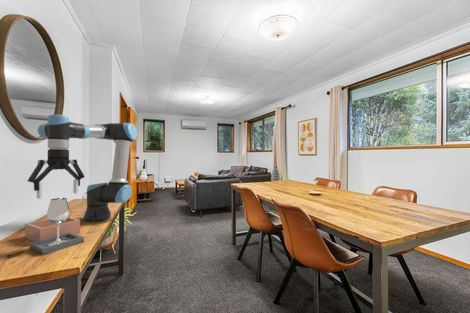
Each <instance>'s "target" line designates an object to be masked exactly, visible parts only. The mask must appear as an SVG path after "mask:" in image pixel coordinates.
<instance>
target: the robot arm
mask: <svg viewBox="0 0 470 313" xmlns="http://www.w3.org/2000/svg"><path fill="white" fill-rule="evenodd" d="M37 133H38V135H39V137H41V138H43V139H47V160H46V159H38V161H37V165H36V167H35V168H34V170H33V171H32V173H31V174H30V176H29V177H28V179H27V182H29V183H32V184H33V190H34V191H35V192H36V199H42V198H43V185H42V184H43V183H42V182H41V181H42V180H44V179H45V177H46V176H48V175H49V174H50V172H52V171H53V170H54V171H55V170H65V171H66V172H68V174H69V175H71V176H72V177H73V178H74V179H73V188H72V189H73V190H72V191H73V194H75V195H76V194H79V187H81V180H82V179H84V178H85V174H84V172H83V170H82V169H81V167H80V165H79V164H78V160H77V159H70V150H69V149H70V139H79V140H80V139H81V140H82V139H83V140H85V139H88V138H89V139H90V138H95V139H97V140H109V141H113V143H114V145H115V146H114V147H115V149H114V156H113V165H112V174H111V180H109V181H108V182H100V183H95V184H89V185H88V186H87V188H86V210H85V212H84V215H83V219H82V220H83V222H87V223H88V222H89V223H90V222H98V221H99V222H102V221H105V220H107V219H110V218H111V217H112V215H111V214H112V213H111V210H110V207H109V204H122V203H126V202H127V201H129V199H130V198H131V196H132V192H133V190H132V186H131V185H130V184H129V183H130V182H129V181H128V179H127V178H128V167H129V158H130V157H129V156H130V149H131V148H130V147H131V145H132V144H133V143H134V142H133V141H135V140H136V139H137V137H138V131H137V128H136V127H135V125H134V124H133V123H131V122H130V123H129V122H122V123H121V122H115V123H113V122H112V123H101V124H99V123H98V124H94V125H89V124H87V125H86V124H83V123H79V122H72V121H70V118H69V116H67V115H63V114H50V115H48V116H47V122H46V123H42V124H40V125H39V126H38V127H37ZM46 164H47V165H48V166H46V168H45V169H44V170H43V171H42V169H43V167H44V166H45V165H46ZM69 164H71V166H72V168H74V169H72V168H71V166H69ZM41 171H42V172H41ZM40 172H41V173H40ZM39 173H40V174H39Z"/></svg>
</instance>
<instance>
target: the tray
mask: <svg viewBox="0 0 470 313" xmlns="http://www.w3.org/2000/svg"><path fill="white" fill-rule="evenodd" d="M56 239H57V236H54V237H50V238H47V239H43V240H39V241H35V242H33V241H31V242H29V250H30V251H33V252H35V253H37V254H39V255H41V254H42V256H45V255H48V254H50V252H51V253H53V251H54V252H57V250H58V251H61V250H64V249H67V248H69V247H73V246H77V245H79V244H80V245H81V244H82V243H85V237H84V236H82V235H79V234H73V233H70V232H69V233H65V234H62V235H59V239H68V240H69V241H65V242H62V243H58V244H55V245H52V246H47V243H49V242H51V241H55V240H56ZM60 249H61V250H60ZM47 253H48V254H47ZM44 254H45V255H44Z"/></svg>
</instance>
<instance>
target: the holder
mask: <svg viewBox="0 0 470 313" xmlns="http://www.w3.org/2000/svg"><path fill="white" fill-rule="evenodd" d="M24 225H25V228H24V229H25V232H24V235H25V237H24V238H25V239H27V240H29V241H31V242H35V241H39V240H43V239H47V238H50V237H54V236H57V225H56V224H53V223H51V222H49V221H48V219H47V218H46V219H43V220H37V221H34V222H33V221H32V222H29V223H25V224H24ZM69 232H70V233H73V234H77V235H79V234H81V219H79V218H75V217H71V216H69V217H68V218H67V220H65V221H64V222H63V223H61V224H60V226H59V235H62V234H65V233H69Z"/></svg>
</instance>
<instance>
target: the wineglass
mask: <svg viewBox="0 0 470 313" xmlns="http://www.w3.org/2000/svg"><path fill="white" fill-rule="evenodd" d="M48 204H49V205H48V208H47V212H46V220H47V219H48V221H49V222H51V223H53V224H56V225H57V239H56V240H55V241H51V242H49V243H47V246H52V245H55V244H58V243H62V242H65V241H69V240H68V239H59V226H60V224H61V223H63V222H64V221H65V220H67V218H68V217H70V207H69V202H68V199H67V197H57V198H52V199H50V200H49V203H48Z"/></svg>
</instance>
